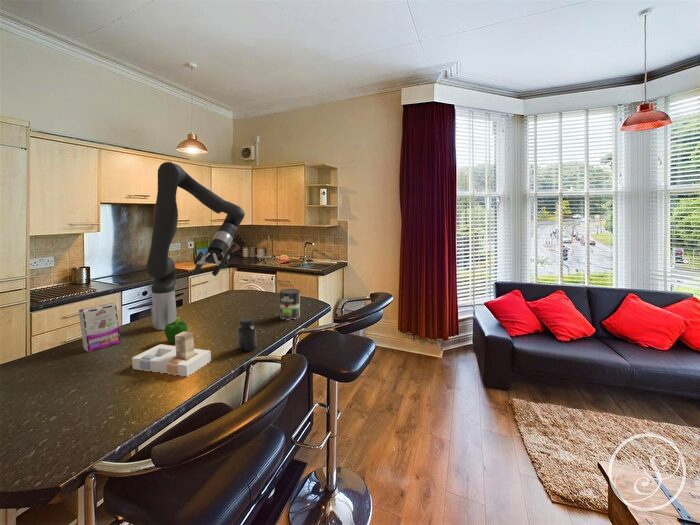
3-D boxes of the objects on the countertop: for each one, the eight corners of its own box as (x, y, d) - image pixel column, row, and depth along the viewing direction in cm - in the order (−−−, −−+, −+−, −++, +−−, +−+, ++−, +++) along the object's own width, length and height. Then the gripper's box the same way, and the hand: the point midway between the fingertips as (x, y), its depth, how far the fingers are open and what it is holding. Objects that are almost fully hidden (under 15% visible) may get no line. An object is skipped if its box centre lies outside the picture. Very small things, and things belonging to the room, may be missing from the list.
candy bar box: (115, 340, 134) (111, 302, 132) (121, 343, 132) (117, 304, 129) (82, 349, 125) (77, 309, 122) (88, 352, 122) (83, 311, 120)
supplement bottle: (249, 344, 132) (248, 316, 131) (260, 348, 129) (259, 319, 127) (234, 349, 127) (233, 320, 125) (246, 354, 123) (244, 324, 121)
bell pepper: (176, 346, 129) (175, 322, 127) (161, 343, 132) (159, 320, 130) (193, 339, 137) (191, 316, 135) (178, 336, 139) (177, 314, 138)
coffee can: (296, 321, 161) (296, 293, 159) (277, 319, 163) (276, 292, 161) (302, 314, 171) (302, 289, 169) (284, 313, 173) (284, 288, 171)
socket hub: (131, 369, 110) (130, 357, 109) (160, 354, 122) (159, 343, 121) (186, 377, 105) (185, 365, 104) (211, 361, 117) (210, 349, 116)
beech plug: (177, 368, 111) (174, 335, 109) (185, 363, 115) (183, 331, 113) (186, 370, 110) (184, 336, 108) (195, 365, 114) (193, 332, 112)
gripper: (202, 237, 138) (184, 268, 129) (231, 238, 135) (215, 269, 126) (210, 248, 144) (194, 278, 135) (238, 249, 141) (224, 280, 132)
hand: (204, 274), depth 130 cm, fingers open, 8 cm apart
